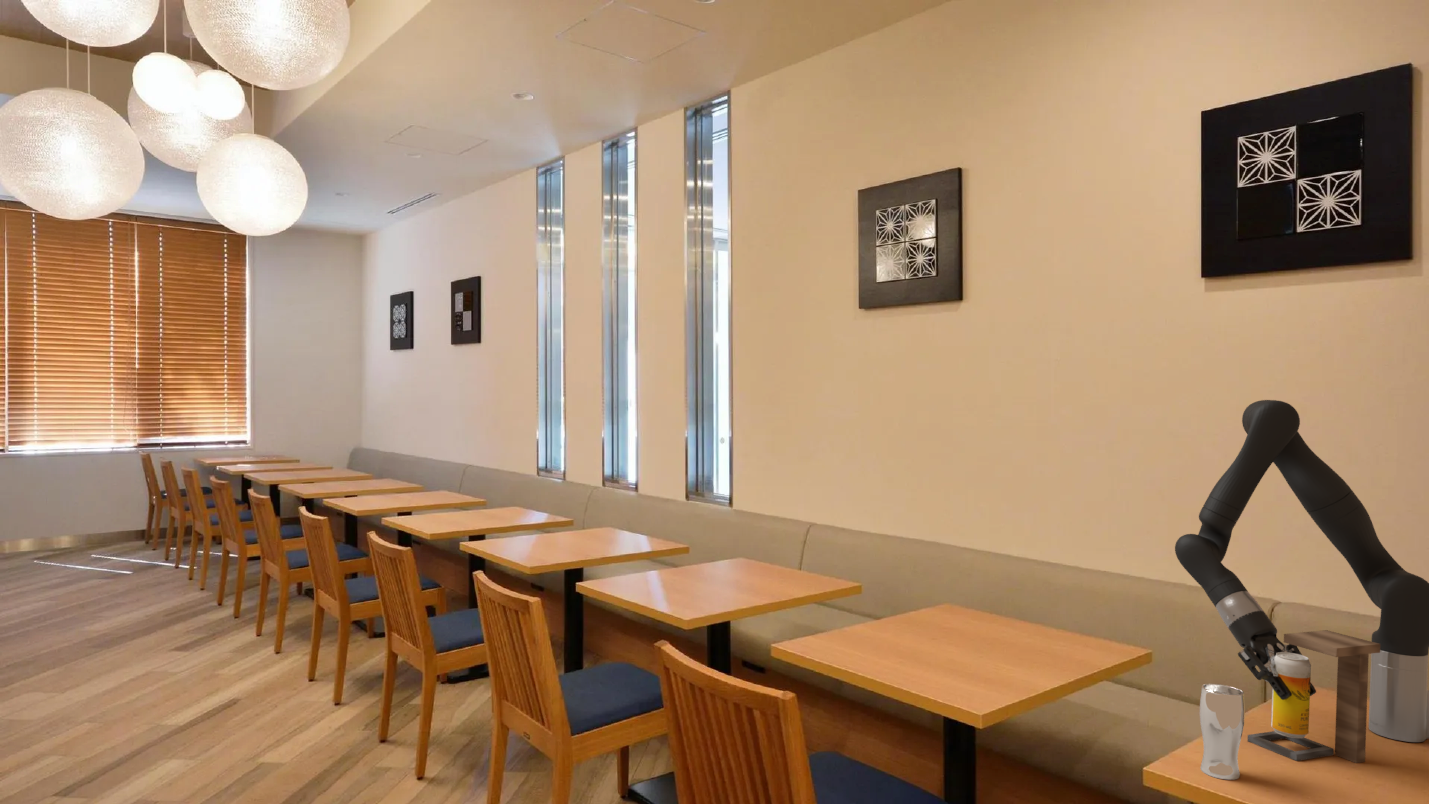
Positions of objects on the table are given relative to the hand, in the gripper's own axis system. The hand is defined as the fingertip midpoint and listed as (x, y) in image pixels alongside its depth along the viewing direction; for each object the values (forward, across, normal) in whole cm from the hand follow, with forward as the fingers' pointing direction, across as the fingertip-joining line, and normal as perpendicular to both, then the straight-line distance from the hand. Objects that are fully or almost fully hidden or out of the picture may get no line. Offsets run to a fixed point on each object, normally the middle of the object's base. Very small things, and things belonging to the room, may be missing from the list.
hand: (1299, 695), depth 170 cm
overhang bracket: (+8, +1, +6) cm, 11 cm away
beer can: (+4, 0, +7) cm, 8 cm away
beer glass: (+10, -24, +5) cm, 27 cm away
